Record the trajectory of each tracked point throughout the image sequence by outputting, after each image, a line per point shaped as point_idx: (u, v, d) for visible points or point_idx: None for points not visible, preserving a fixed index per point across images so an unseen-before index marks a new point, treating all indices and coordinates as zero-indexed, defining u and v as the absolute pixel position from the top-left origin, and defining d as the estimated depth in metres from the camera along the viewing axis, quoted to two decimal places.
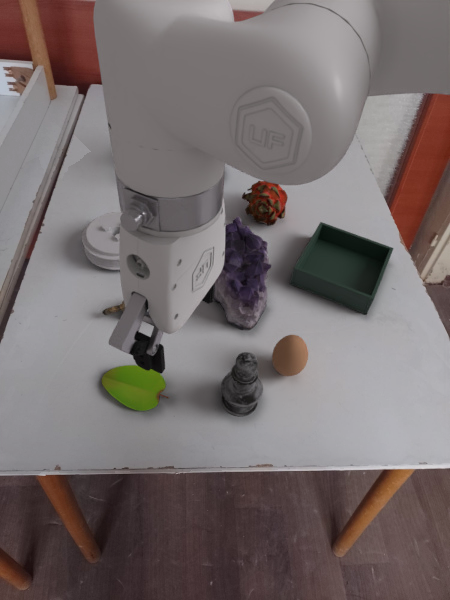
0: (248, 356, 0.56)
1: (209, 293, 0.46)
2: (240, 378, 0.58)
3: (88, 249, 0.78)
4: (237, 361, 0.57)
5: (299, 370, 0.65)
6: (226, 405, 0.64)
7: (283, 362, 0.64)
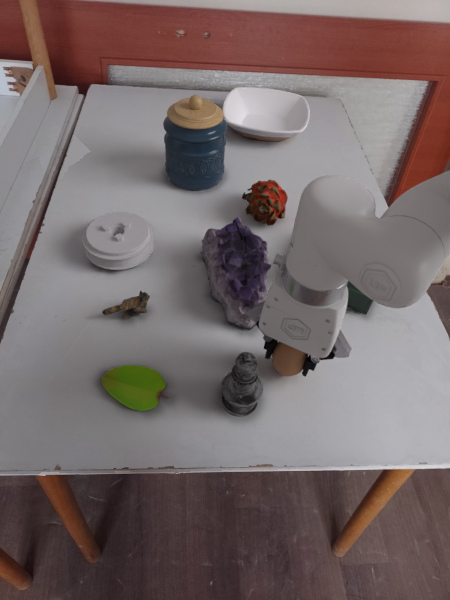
0: (248, 356, 0.56)
1: None
2: (240, 378, 0.58)
3: (88, 249, 0.78)
4: (237, 361, 0.57)
5: (299, 370, 0.65)
6: (226, 405, 0.64)
7: (283, 362, 0.64)
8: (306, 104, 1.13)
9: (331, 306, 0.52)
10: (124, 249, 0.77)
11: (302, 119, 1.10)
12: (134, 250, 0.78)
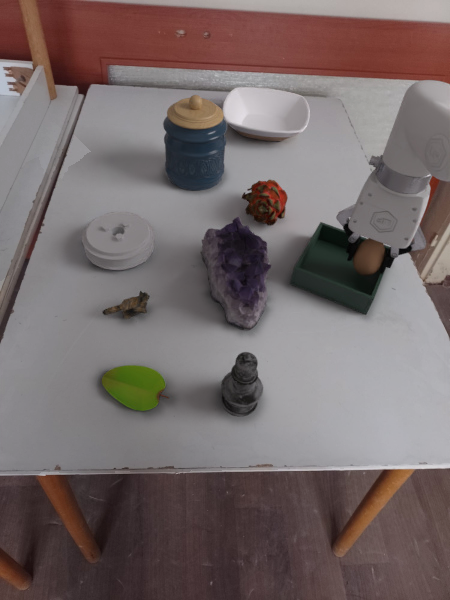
0: (248, 356, 0.56)
1: (382, 264, 0.76)
2: (240, 378, 0.58)
3: (88, 249, 0.78)
4: (237, 361, 0.57)
5: (377, 268, 0.77)
6: (226, 405, 0.64)
7: (366, 260, 0.76)
8: (306, 104, 1.13)
9: (418, 195, 0.64)
10: (124, 249, 0.77)
11: (302, 119, 1.10)
12: (134, 250, 0.78)
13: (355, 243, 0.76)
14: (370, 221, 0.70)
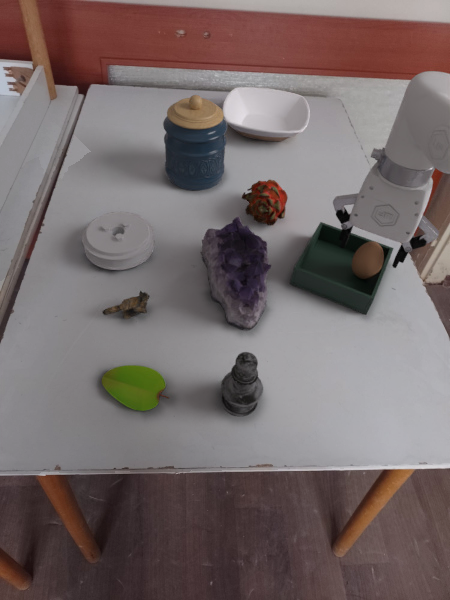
0: (248, 356, 0.56)
1: (395, 259, 0.75)
2: (240, 378, 0.58)
3: (88, 249, 0.78)
4: (237, 361, 0.57)
5: (376, 271, 0.78)
6: (226, 405, 0.64)
7: (364, 264, 0.77)
8: (306, 104, 1.13)
9: (421, 188, 0.64)
10: (124, 249, 0.77)
11: (302, 119, 1.10)
12: (134, 250, 0.78)
13: (348, 230, 0.75)
14: (371, 215, 0.69)
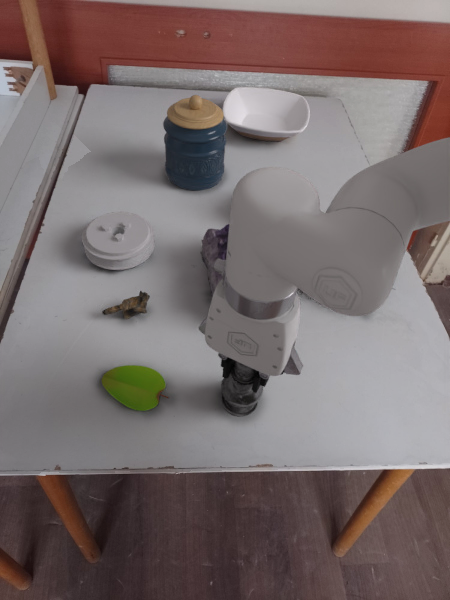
0: None
1: (253, 383, 0.57)
2: (240, 378, 0.58)
3: (88, 249, 0.78)
4: None
5: None
6: (226, 405, 0.64)
7: None
8: (306, 104, 1.13)
9: (278, 319, 0.45)
10: (124, 249, 0.77)
11: (302, 119, 1.10)
12: (134, 250, 0.78)
13: (228, 360, 0.57)
14: (227, 340, 0.51)
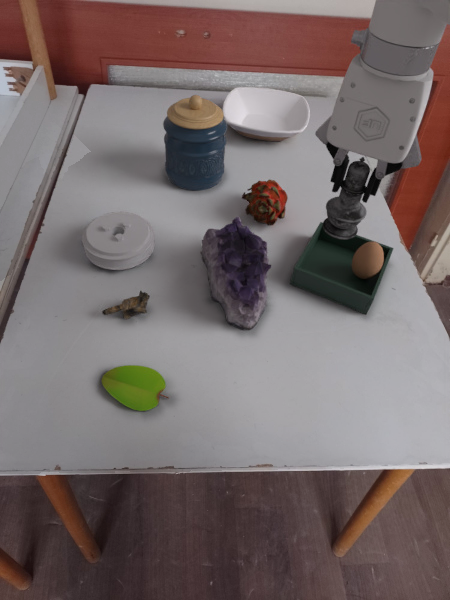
0: (363, 159, 0.59)
1: (365, 190, 0.60)
2: (352, 187, 0.61)
3: (88, 249, 0.78)
4: (351, 166, 0.59)
5: (376, 271, 0.78)
6: (328, 230, 0.66)
7: (364, 264, 0.77)
8: (306, 104, 1.13)
9: (418, 79, 0.48)
10: (124, 249, 0.77)
11: (302, 119, 1.10)
12: (134, 250, 0.78)
13: (342, 166, 0.59)
14: (354, 126, 0.53)
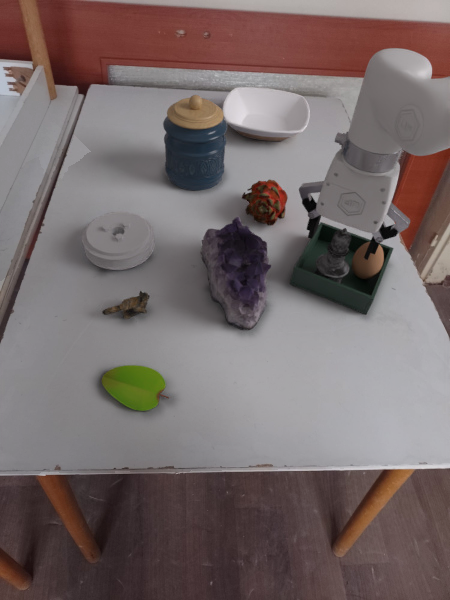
0: (345, 230, 0.72)
1: None
2: (336, 251, 0.74)
3: (88, 249, 0.78)
4: (336, 235, 0.73)
5: (376, 271, 0.78)
6: None
7: (364, 264, 0.77)
8: (306, 104, 1.13)
9: (386, 174, 0.60)
10: (124, 249, 0.77)
11: (302, 119, 1.10)
12: (134, 250, 0.78)
13: (315, 219, 0.72)
14: (338, 203, 0.66)
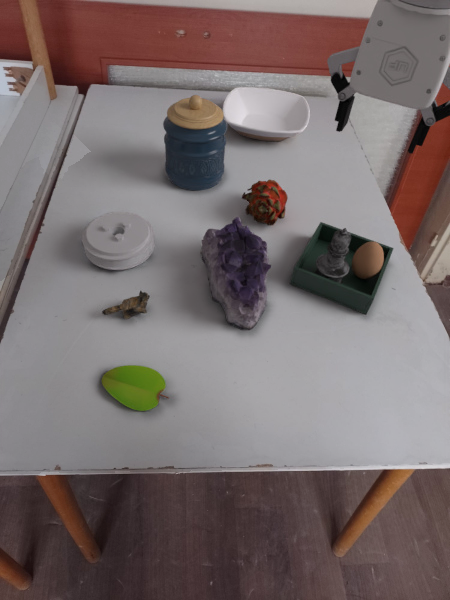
0: (345, 230, 0.72)
1: (412, 139, 0.56)
2: (336, 251, 0.74)
3: (88, 249, 0.78)
4: (336, 235, 0.73)
5: (376, 271, 0.78)
6: None
7: (364, 264, 0.77)
8: (306, 104, 1.13)
9: (449, 14, 0.46)
10: (124, 249, 0.77)
11: (302, 119, 1.10)
12: (134, 250, 0.78)
13: (347, 102, 0.57)
14: (380, 69, 0.51)
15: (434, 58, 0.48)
